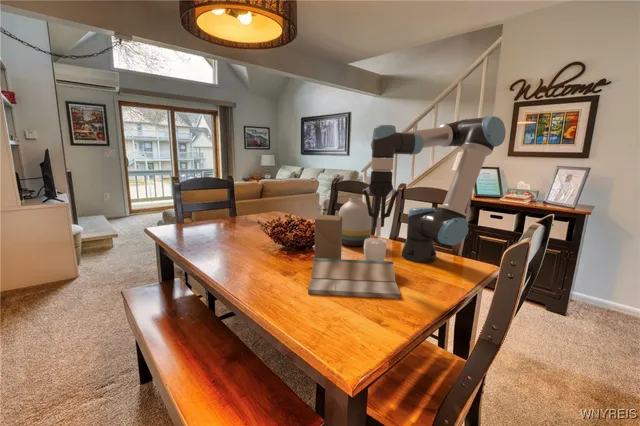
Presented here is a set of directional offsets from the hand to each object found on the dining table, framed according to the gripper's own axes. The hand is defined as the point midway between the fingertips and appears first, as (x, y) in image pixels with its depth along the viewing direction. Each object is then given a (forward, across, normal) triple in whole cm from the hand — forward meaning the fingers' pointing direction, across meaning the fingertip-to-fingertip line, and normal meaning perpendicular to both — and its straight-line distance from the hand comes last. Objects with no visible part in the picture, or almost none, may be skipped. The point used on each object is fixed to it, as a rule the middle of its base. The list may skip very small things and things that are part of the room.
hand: (377, 235), depth 112 cm
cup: (+17, 0, -10) cm, 19 cm away
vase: (+17, +7, -46) cm, 49 cm away
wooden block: (+17, +19, -15) cm, 29 cm away
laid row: (+17, +9, +11) cm, 22 cm away
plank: (+14, +9, +2) cm, 17 cm away
